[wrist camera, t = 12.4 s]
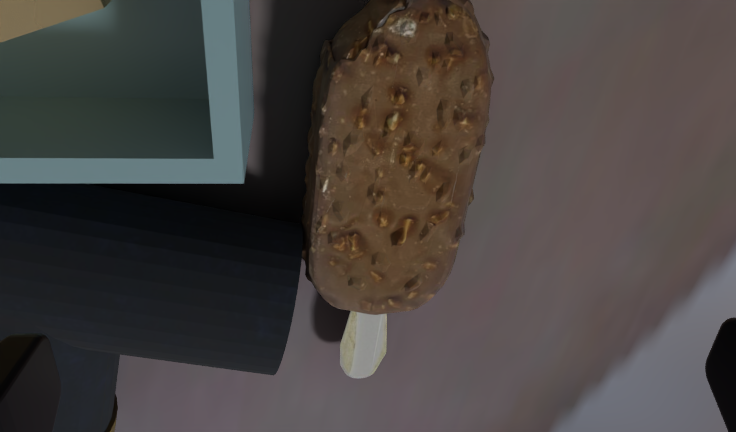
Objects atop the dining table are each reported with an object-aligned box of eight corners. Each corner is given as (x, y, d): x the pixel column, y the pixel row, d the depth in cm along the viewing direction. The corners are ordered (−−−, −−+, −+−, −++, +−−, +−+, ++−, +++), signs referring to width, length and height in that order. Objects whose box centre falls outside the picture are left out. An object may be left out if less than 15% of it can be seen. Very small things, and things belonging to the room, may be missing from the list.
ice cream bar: (441, 365, 27) (538, -20, 19) (399, 444, 23) (497, 9, 15) (323, 317, 28) (366, -57, 20) (267, 384, 25) (293, -38, 17)
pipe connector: (232, 538, 24) (-250, 498, 21) (242, 423, 28) (-151, 376, 25) (303, 286, 19) (-335, 179, 15) (302, 194, 23) (-190, 97, 20)
